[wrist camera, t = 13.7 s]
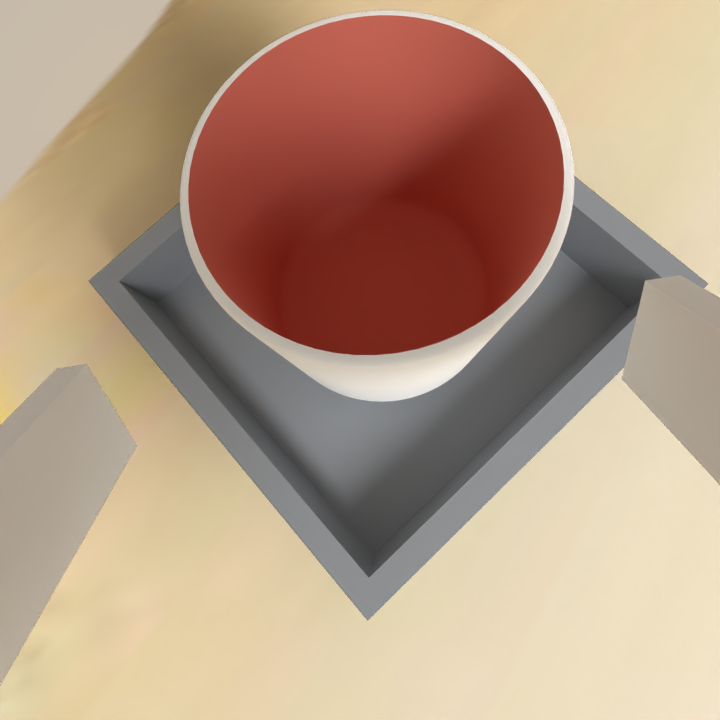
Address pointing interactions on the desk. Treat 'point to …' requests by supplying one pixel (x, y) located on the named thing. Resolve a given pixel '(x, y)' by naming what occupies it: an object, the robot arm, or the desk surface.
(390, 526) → the tray
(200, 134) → the cup
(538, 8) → the desk surface
